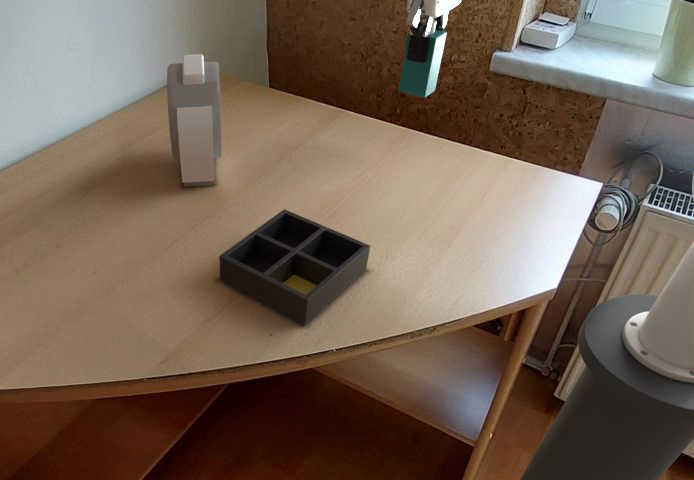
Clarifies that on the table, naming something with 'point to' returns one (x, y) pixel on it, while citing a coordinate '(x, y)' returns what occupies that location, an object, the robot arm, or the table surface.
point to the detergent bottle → (423, 66)
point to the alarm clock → (195, 118)
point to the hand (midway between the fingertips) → (423, 55)
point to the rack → (294, 265)
